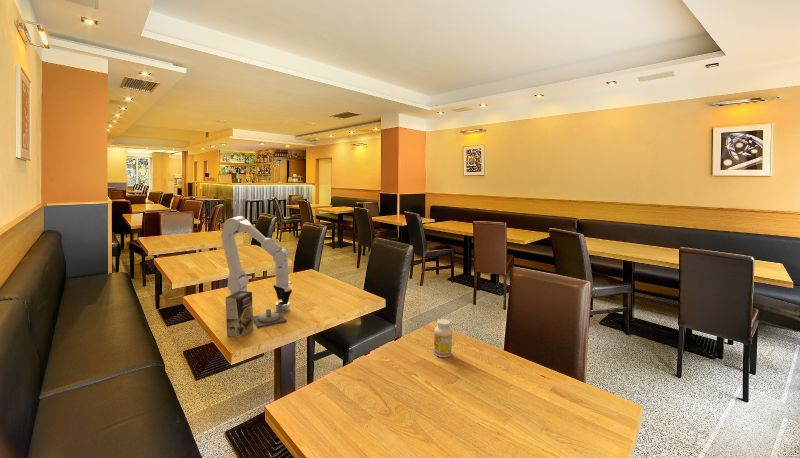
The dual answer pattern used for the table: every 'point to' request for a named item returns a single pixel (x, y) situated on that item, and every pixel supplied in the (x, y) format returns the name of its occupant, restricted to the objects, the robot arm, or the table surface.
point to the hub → (268, 319)
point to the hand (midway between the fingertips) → (282, 301)
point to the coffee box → (239, 313)
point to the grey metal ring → (282, 307)
